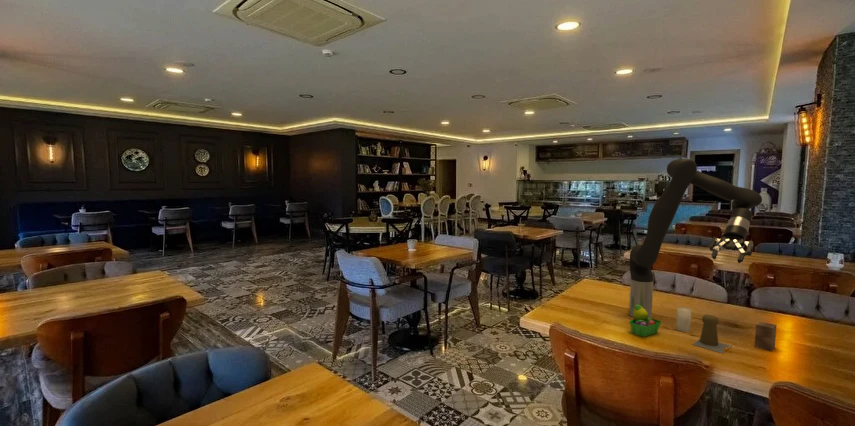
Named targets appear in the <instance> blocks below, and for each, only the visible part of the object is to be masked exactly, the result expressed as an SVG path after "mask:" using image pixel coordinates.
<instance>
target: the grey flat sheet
mask: <svg viewBox="0 0 855 426" xmlns="http://www.w3.org/2000/svg"><path fill="white" fill-rule="evenodd" d="M691 345H693V346H695V347H699V348H702V349H706V350H709V351H712V352H716V353H720V354H722V353H723V354H724V353H725V352H724V351H723V350H724V349H725V350H726V347H727V348H728V347H729V346H730V348H732V345H731V344H727V343H723V342H719V341H718V345H717V346H710V345H706V344H703V343H701V342H700V338H699V339H697V340H696V341H694V342H693V343H692V344H691Z"/></svg>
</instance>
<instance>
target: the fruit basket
mask: <svg viewBox="0 0 855 426" xmlns="http://www.w3.org/2000/svg"><path fill="white" fill-rule="evenodd" d="M633 315H634V317H633V319H630V320H628V322H629V325H630V328H631V331H632V334H635V335H637V336H640V337H643V338H645V337H648V336H652V335H653V334H657V333H658V331H659V328H660V326H661V324H662V321H661V320H658V319H656V318H653V317H651V318H650V317H647V316H648V312H647V311H646V310H645V309H644V308H643V307H642V306H640V305H635V306H634V312H633Z"/></svg>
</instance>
